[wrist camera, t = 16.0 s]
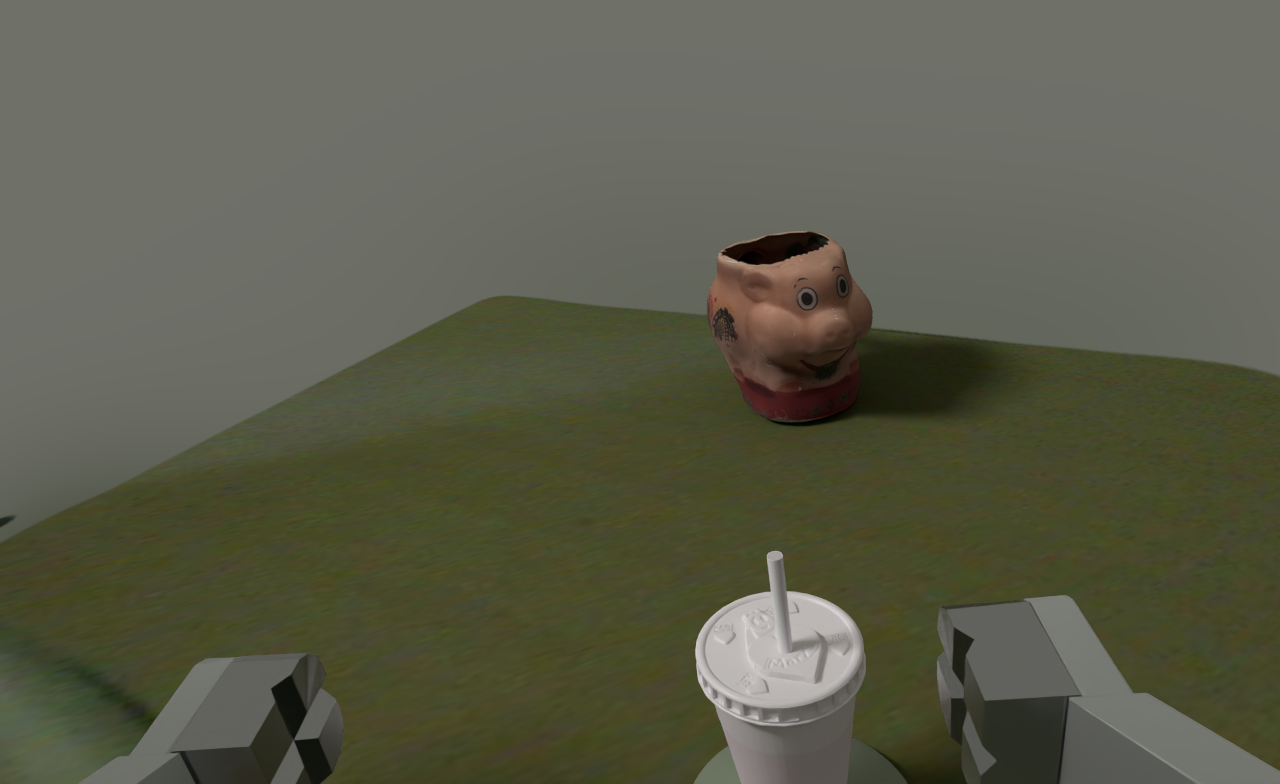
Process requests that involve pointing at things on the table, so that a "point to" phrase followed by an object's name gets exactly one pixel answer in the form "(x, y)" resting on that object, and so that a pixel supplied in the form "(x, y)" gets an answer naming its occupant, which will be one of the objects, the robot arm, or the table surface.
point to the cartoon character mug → (790, 324)
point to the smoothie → (783, 683)
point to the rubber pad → (867, 774)
